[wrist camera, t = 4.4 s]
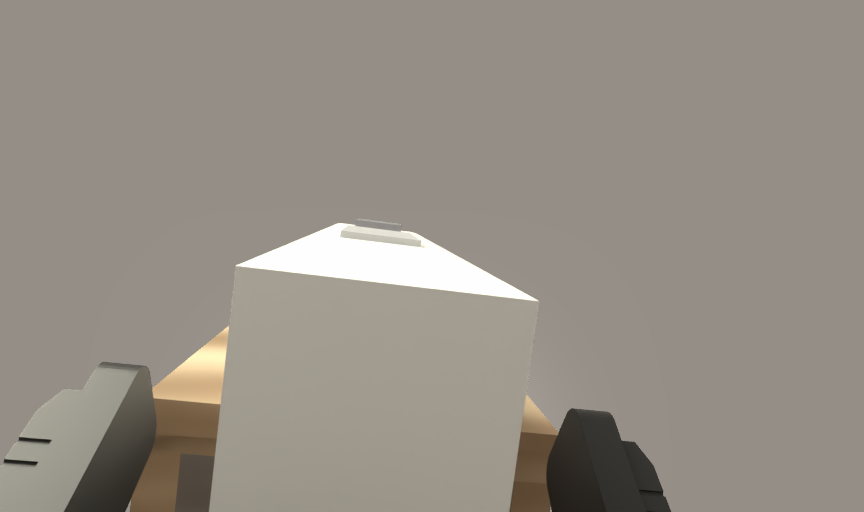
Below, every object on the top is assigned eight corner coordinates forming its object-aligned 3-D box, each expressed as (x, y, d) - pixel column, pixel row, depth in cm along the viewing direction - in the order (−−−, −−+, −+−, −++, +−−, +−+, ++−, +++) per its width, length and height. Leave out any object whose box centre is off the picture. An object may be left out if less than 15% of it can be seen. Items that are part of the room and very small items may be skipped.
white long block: (489, 652, 8) (543, 271, 8) (194, 637, 8) (238, 234, 8) (402, 324, 32) (415, 224, 32) (327, 316, 32) (339, 215, 31)
